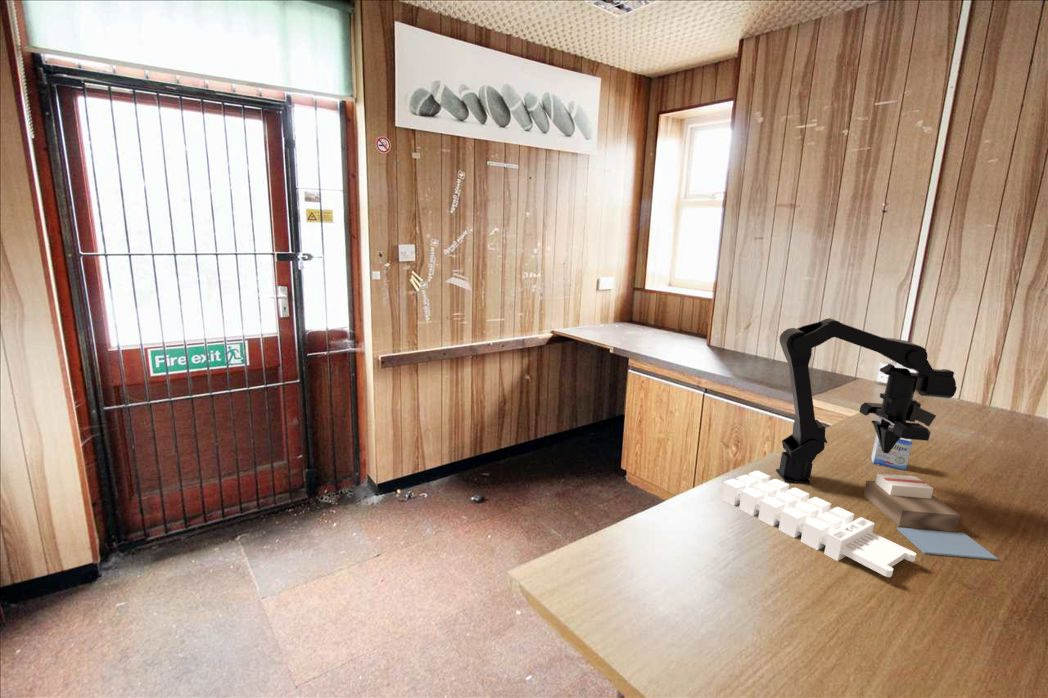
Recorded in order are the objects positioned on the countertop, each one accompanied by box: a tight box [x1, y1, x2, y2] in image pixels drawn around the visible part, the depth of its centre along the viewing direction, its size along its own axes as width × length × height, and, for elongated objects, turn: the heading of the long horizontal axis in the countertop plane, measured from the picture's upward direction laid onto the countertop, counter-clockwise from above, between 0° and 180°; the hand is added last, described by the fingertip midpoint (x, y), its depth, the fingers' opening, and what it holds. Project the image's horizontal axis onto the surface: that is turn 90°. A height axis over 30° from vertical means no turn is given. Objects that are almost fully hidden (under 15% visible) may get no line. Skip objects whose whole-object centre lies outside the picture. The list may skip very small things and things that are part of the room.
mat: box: [896, 526, 999, 561], centre depth 109 cm, size 14×9×1 cm, turn 86°
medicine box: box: [870, 433, 913, 471], centre depth 146 cm, size 8×4×9 cm, turn 62°
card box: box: [875, 473, 934, 499], centre depth 123 cm, size 9×6×3 cm, turn 86°
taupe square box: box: [862, 480, 961, 532], centre depth 120 cm, size 12×14×4 cm
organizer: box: [720, 470, 917, 578], centre depth 111 cm, size 13×5×35 cm
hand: (885, 452), depth 130 cm, fingers closed
